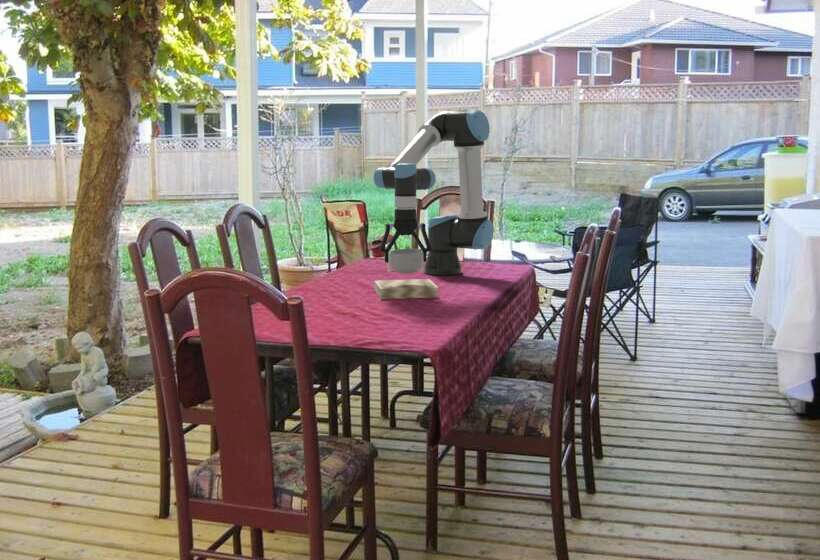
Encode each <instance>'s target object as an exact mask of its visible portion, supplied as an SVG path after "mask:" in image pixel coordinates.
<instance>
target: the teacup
mask: <svg viewBox="0 0 820 560" xmlns="http://www.w3.org/2000/svg"><path fill="white" fill-rule="evenodd" d="M421 252H422V250H421V248H398V249H393V250H390V251H389V253H391V269H393V270H394V272H395V271H396V273H397V274H402V275H407V274H415V273H417V272H418V271H420V267H421V263H422V256H421Z"/></svg>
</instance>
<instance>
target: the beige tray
mask: <svg viewBox="0 0 820 560" xmlns="http://www.w3.org/2000/svg"><path fill="white" fill-rule="evenodd" d="M374 292H375V293H376V294H377V296H378V298H379V299H380V300H392V299H393V300H395V299H398V300H399V299H424V298H425V299H428V298H434V299H435V298H439V287H438V285H437V284H436V283H435V282H434V281H432V280H431V279H430V278H422V279H420V278H419V279H418V278H417V279H413V278H411V279H388V280H387V279H386V280H385V279H381V280H380V279H379V280H374Z"/></svg>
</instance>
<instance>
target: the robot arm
mask: <svg viewBox="0 0 820 560" xmlns="http://www.w3.org/2000/svg"><path fill="white" fill-rule="evenodd" d="M489 134H490V122H489V119H488V117H487V115H486V114H485V112H483V111H482V110H478V109H456V110H455V109H454V110H451V109H449V110H444V111H441V112H438V113H436V114H434V115H433V116H431V117H430V118H428V120H426V121H424V123H422V124H421V126H420V127H419V128H418V131H417V134H416V135H415V136H414V137H413V138H412V139H411V140H410V141H409V142H408V144H407V145H406V146H405V147H404V148H403V149H402V150H401V151H400V152H399V154H397V156H396V157H395V158H394V159H393V160H392V161H391V162H390V163H389V164H388V165H387V166H386V167H385V166H384V167H379V168H377V169H375V171H374V173H373V182H374V184H375V186H376V187H377V188H379V189H383V190H394V208H395V209H394V221H393V223H388V222H387V223H385V231H384V234H383V237H382V241H381V243H380V246H379V249H378V250H379V251H380V252H381V253H384V262H385V263H387V272H388V273H392V263H391V253H390V252H391V249H392V247H393V246H394V244H395V243H396V242H397V240H398V238H399V237H400V236H412V237H413V239H414V241H415V242H416V244H417V245H418V247H419V249H421V250H422V251H421V256H422V263H421V267H420V269H419V271H420V272H421V273H422V272H423V273H424V274H427V275H435V276H453V275H454V276H455V275H458V274H462V265H461V261H460V258H459V256H458V249H469V250H485V249H487V247H488V246H490V244H491V243H492V240H493V237H494V229H495V228H494V224H493V222H492V221H491V220H490V219H488V213H486V212H485V211H484V204H483V203H484V202H483V201H484V200H483V181H482V177H483V176H482V175H483V174H482V157H481V156H482V155H481V154H482V153H481V150H482V148H483V146H484V145H485V141H487V140H488V138H489ZM448 141H449V142H453V147H454V148H455V149H456V150H457V153H458V155H457V156H458V157H457V158H458V173H459V190H460V191H459V194H460V212H459V214H449V215H439V216H434V217H433V216H432V217H431V218H429V220H428V228H427V229H428V234H427V231H426V224H425V223H424V222H422V223H418V222H417V209H416V207H417V191H423V190H424V191H427V190H429V189H433V187H434V186H435V185H436V181H437V180H436V179H437V177H436V173H435V172H434V171H433V169H431V168H427V167H421V168H417V165H418V164H419V163H420V162H421V160H422V159H423V158H424V157H425V156H426V155H427V154H428V153H429V152H430V151H431V149H432V148H433V147H437V146H438V145H439V144H440V143H442V142H448ZM393 228H394V229H395V232H394V235H392V237H391V240H390V241H389V243H388V244H387V241H388V238H389V236H390V231H391V230H392V229H393ZM417 228H419V230H420V232H421V234H422V238H423V240H424V244H425V246H426V247H425V246H424V244H423V243H422V241H421V239H420V238H419V236H418V234H417V233H416V232H415V231H416V230H417ZM386 245H387V246H386ZM424 263H425V264H424Z"/></svg>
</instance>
